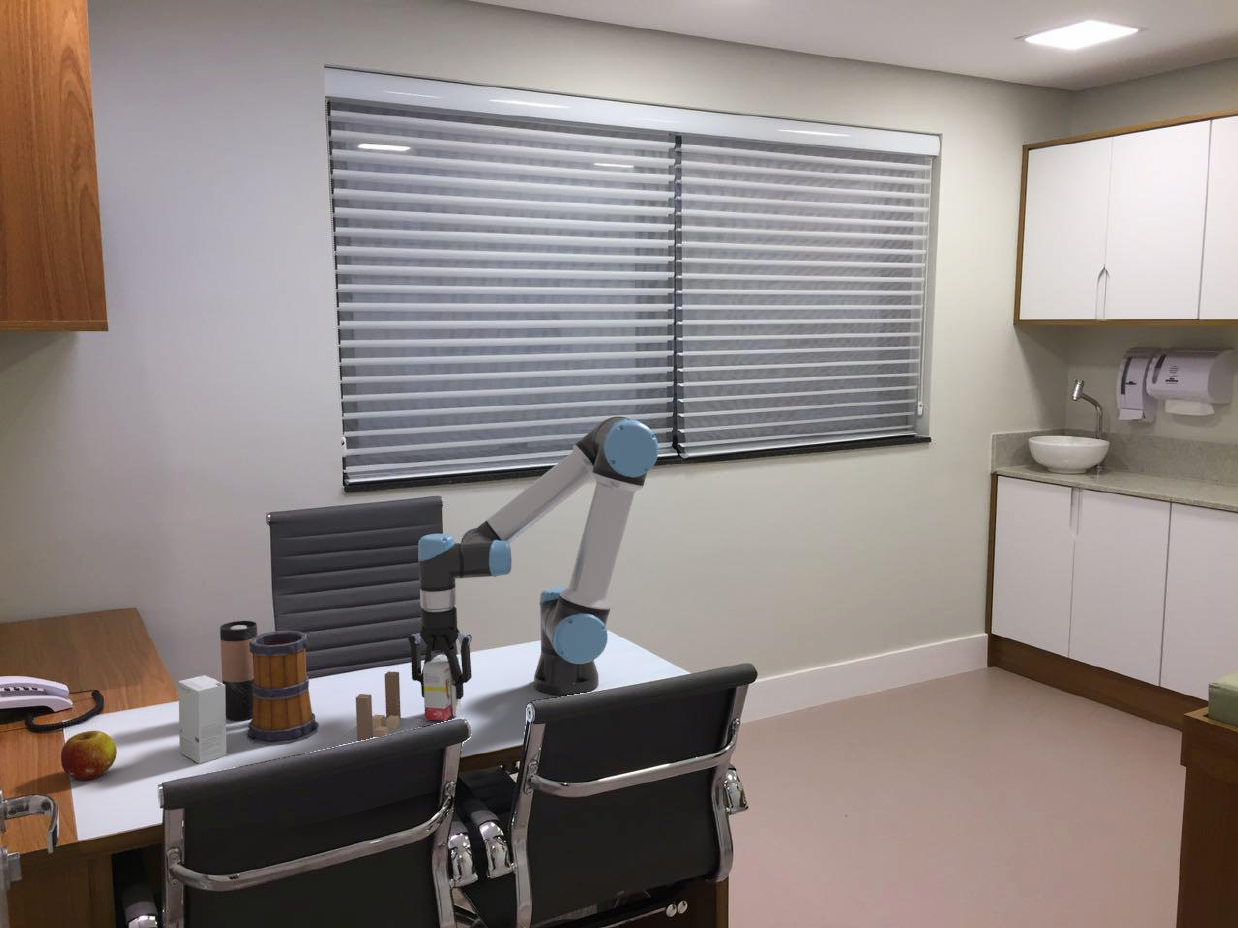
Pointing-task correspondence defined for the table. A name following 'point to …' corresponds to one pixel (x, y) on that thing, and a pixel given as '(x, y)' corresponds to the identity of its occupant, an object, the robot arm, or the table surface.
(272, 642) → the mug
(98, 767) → the fruit
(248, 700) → the travel mug
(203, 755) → the skincare box
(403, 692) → the table surface
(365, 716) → the peg cradle
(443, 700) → the ink box
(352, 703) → the table surface
